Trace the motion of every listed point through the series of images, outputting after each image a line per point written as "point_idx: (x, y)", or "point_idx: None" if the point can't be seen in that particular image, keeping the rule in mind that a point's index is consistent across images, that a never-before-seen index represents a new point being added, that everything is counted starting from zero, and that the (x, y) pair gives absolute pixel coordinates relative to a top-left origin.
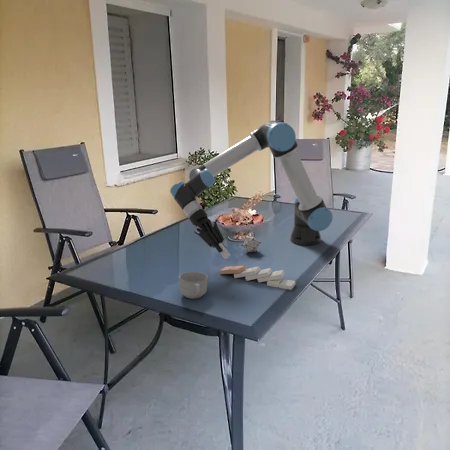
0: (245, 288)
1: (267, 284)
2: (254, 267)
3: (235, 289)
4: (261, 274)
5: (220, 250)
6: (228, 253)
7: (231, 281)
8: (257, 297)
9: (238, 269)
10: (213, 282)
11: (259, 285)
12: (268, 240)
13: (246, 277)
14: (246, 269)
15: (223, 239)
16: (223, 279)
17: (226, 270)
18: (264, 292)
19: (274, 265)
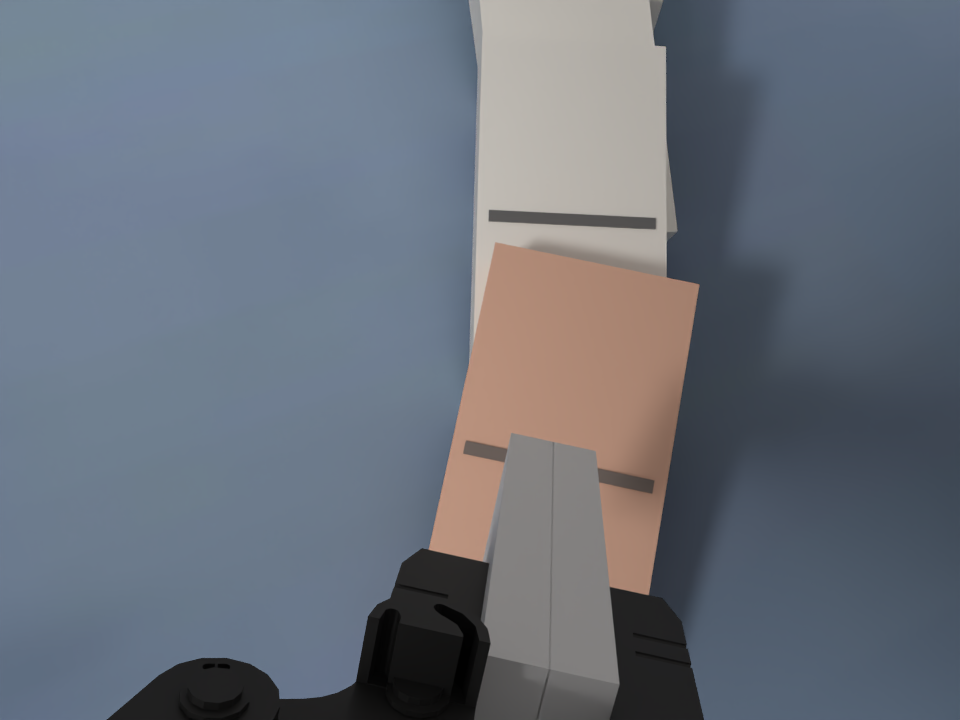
0: (849, 197)
1: (656, 18)
2: (494, 110)
3: (942, 286)
4: (645, 4)
5: (673, 622)
6: (532, 459)
7: (768, 420)
8: (956, 43)
9: (681, 282)
10: (950, 660)
11: (693, 94)
12: None
13: (673, 215)
14: (516, 239)
15: (216, 668)
16: (770, 558)
17: (657, 537)
18: (819, 17)
19: (17, 94)
